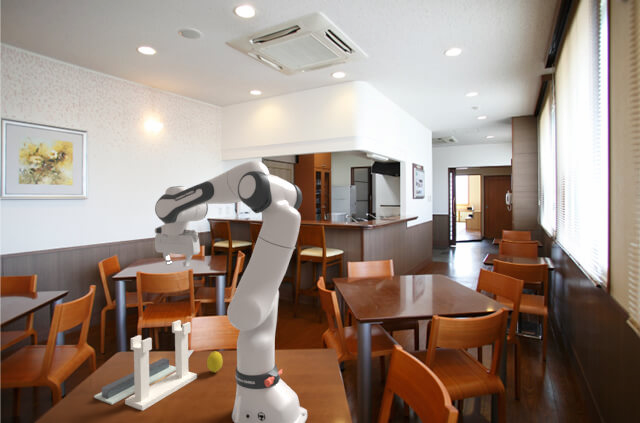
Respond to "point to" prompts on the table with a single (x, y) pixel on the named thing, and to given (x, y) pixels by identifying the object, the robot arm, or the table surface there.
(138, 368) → the rack
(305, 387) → the table surface
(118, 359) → the table surface
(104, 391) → the rail
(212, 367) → the lemon
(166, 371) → the mat
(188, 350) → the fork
